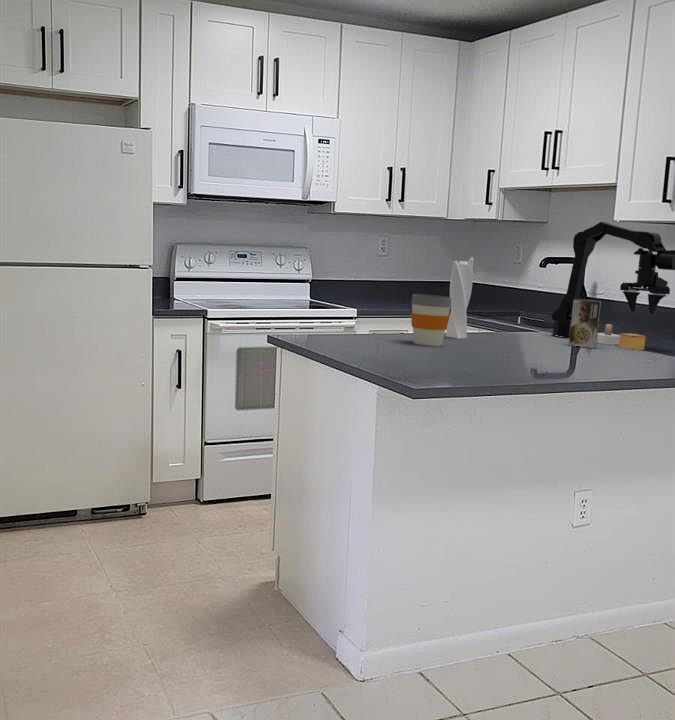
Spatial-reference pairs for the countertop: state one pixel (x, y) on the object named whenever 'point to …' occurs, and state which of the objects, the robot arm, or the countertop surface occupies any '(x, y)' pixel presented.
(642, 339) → the yellow short cylinder
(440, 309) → the reusable coffee cup
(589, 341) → the coffee box
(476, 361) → the countertop surface
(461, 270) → the skyscraper
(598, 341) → the block
